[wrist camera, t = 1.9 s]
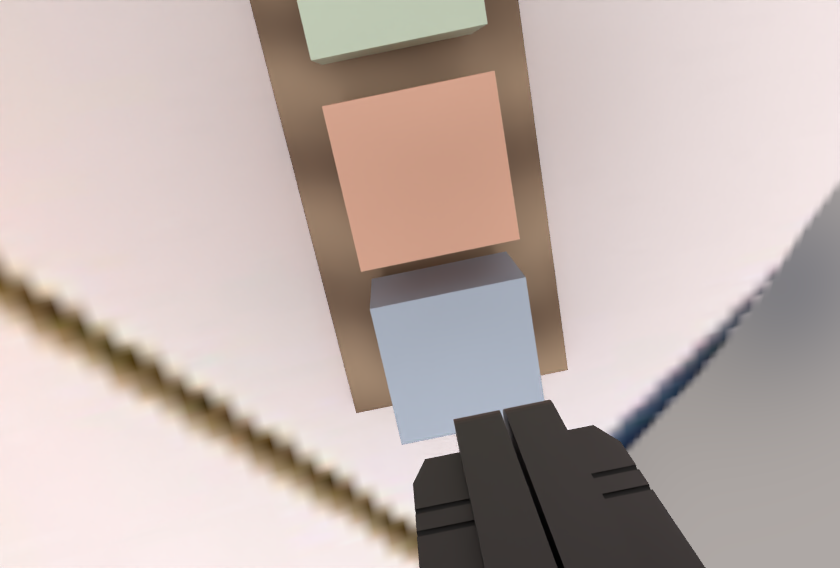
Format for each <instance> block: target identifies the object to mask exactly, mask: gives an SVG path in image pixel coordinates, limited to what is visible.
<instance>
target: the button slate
mask: <svg viewBox="0 0 840 568" xmlns="http://www.w3.org/2000/svg"><path fill="white" fill-rule="evenodd" d="M370 312H371V316H372V320H373V325H374V329H375V333H376V337H377V341H378V346H379V350H380V354H381V358H382V363H383V367H384V371H385V375H386V379H387V384H388V388H389V392H390V396H391V401H392V405H393V409H394V413H395V417H396V422H397V426H398V430H399V434H400V439H401V443H402V445H403V444H408V443H413V442H418V441H423V440H428V439H433V438H437V437H442V436H447V435H452V434H456V431H455V426H454V421H453V419H457V418H462V417H467V416H472V415H477V414H482V413H487V412H492V411H497V410H500V412H501V414H502V417H503V409H506V408H511V407H516V406H521V405H525V404H530V403H535V402H540V401H544V396H543V389H542V382H541V376H540V369H539V362H538V356H537V349H536V342H535V336H534V329H533V322H532V316H531V309H530V302H529V296H528V289H527V282H526V277H525V276H524V274H523V273H522V272H521V270H520V269H519V268H518V266H517V265H516V264H515V262H514V261H513V260H512V258H511V257H510V256H509V255H508V253H507V252H506V251H505V252H501V253H496V254H491V255H486V256H481V257H476V258H471V259H466V260H462V261H457V262H452V263H447V264H442V265H437V266H432V267H427V268H423V269H418V270H413V271H408V272H403V273H398V274H393V275H389V276H384V277H379V278H374V279H372V282H371V299H370ZM503 420H504V419H503Z"/></svg>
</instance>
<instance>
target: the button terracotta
mask: <svg viewBox="0 0 840 568" xmlns="http://www.w3.org/2000/svg"><path fill="white" fill-rule="evenodd" d="M322 109H323V113H324V118H325V122H326V126H327V130H328V134H329V139H330V143H331V147H332V151H333V156H334V160H335V164H336V168H337V172H338V177H339V181H340V185H341V189H342V194H343V198H344V202H345V206H346V210H347V215H348V219H349V223H350V227H351V232H352V236H353V240H354V244H355V248H356V253H357V257H358V261H359V265H360V270H361V272H363V271H368V270H372V269H377V268H382V267H387V266H392V265H397V264H402V263H407V262H411V261H416V260H421V259H426V258H431V257H436V256H441V255H445V254H450V253H455V252H460V251H465V250H470V249H475V248H480V247H484V246H489V245H494V244H499V243H504V242H509V241H514V240H518V239H520V236H519V229H518V223H517V216H516V209H515V203H514V196H513V189H512V183H511V176H510V169H509V163H508V156H507V149H506V143H505V136H504V129H503V123H502V116H501V109H500V103H499V96H498V90H497V83H496V76H495V71H490V72H484V73H478V74H473V75H468V76H463V77H459V78H454V79H449V80H444V81H439V82H434V83H430V84H425V85H420V86H415V87H410V88H405V89H401V90H396V91H391V92H386V93H381V94H376V95H372V96H367V97H362V98H357V99H352V100H347V101H343V102H338V103H333V104H329V105H325V106H322Z"/></svg>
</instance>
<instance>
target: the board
mask: <svg viewBox="0 0 840 568" xmlns="http://www.w3.org/2000/svg"><path fill="white" fill-rule="evenodd" d="M250 3H251V7H252V11H253V15H254V19H255V22H256V26H257V30H258V34H259V38H260V42H261V46H262V50H263V53H264V57H265V61H266V65H267V69H268V73H269V77H270V81H271V84H272V88H273V92H274V96H275V100H276V104H277V108H278V111H279V115H280V119H281V123H282V127H283V131H284V135H285V139H286V142H287V146H288V150H289V154H290V158H291V162H292V166H293V170H294V173H295V177H296V181H297V185H298V189H299V193H300V197H301V201H302V204H303V208H304V212H305V216H306V220H307V224H308V228H309V231H310V235H311V239H312V243H313V247H314V251H315V255H316V259H317V262H318V266H319V270H320V274H321V278H322V282H323V286H324V290H325V293H326V297H327V301H328V305H329V309H330V313H331V317H332V320H333V324H334V328H335V332H336V336H337V340H338V344H339V348H340V351H341V355H342V359H343V363H344V367H345V371H346V375H347V379H348V382H349V386H350V390H351V394H352V398H353V402H354V406H355V410H356V413H359V412H364V411H369V410H374V409H379V408H383V407H388V406H393V405H392V401H391V396H390V392H389V388H388V384H387V379H386V375H385V371H384V367H383V363H382V358H381V354H380V350H379V346H378V341H377V337H376V333H375V329H374V325H373V320H372V316H371V312H370V299H371V282H372V279H374V278H379V277H384V276H389V275H393V274H398V273H403V272H408V271H413V270H418V269H423V268H427V267H432V266H437V265H442V264H447V263H452V262H457V261H462V260H466V259H471V258H476V257H481V256H486V255H491V254H496V253H501V252H505V251H506V252H507V253H508V255H509V256H510V257H511V258H512V260H513V261H514V262H515V264H516V265H517V266H518V268H519V269H520V270H521V272H522V273H523V274H524V276H525V277H526V282H527V289H528V296H529V302H530V309H531V316H532V322H533V329H534V336H535V342H536V349H537V356H538V362H539V369H540V375H545V374H550V373H555V372H560V371H565V370H568V368H567V360H566V353H565V345H564V338H563V331H562V323H561V316H560V308H559V301H558V294H557V286H556V279H555V271H554V264H553V256H552V249H551V242H550V234H549V227H548V219H547V212H546V204H545V197H544V190H543V182H542V175H541V167H540V160H539V152H538V145H537V138H536V130H535V123H534V115H533V108H532V101H531V93H530V86H529V78H528V71H527V63H526V56H525V49H524V41H523V34H522V26H521V19H520V11H519V4H518V0H484V3H485V10H486V16H487V23H488V24H487V25H485V26H483V27H482V28H480V29H479V30H477V31H475V32H474V33H472V34H469V35H464V36H459V37H454V38H449V39H445V40H440V41H435V42H430V43H425V44H420V45H416V46H411V47H406V48H401V49H396V50H391V51H387V52H382V53H377V54H372V55H367V56H363V57H358V58H353V59H348V60H343V61H338V62H334V63H329V64H324V65H321V64H319V63H316V62H314V61H311V58H310V54H309V50H308V46H307V41H306V37H305V33H304V29H303V25H302V20H301V16H300V12H299V8H298V3H297V0H250ZM490 71H495V76H496V83H497V90H498V96H499V103H500V109H501V116H502V123H503V129H504V136H505V143H506V149H507V156H508V163H509V169H510V176H511V183H512V189H513V196H514V203H515V209H516V216H517V223H518V229H519V236H520V239H518V240H514V241H509V242H504V243H499V244H494V245H489V246H484V247H480V248H475V249H470V250H465V251H460V252H455V253H450V254H445V255H441V256H436V257H431V258H426V259H421V260H416V261H411V262H407V263H402V264H397V265H392V266H387V267H382V268H377V269H372V270H368V271H363V272H361V270H360V265H359V261H358V257H357V253H356V248H355V244H354V240H353V236H352V232H351V227H350V223H349V219H348V215H347V210H346V206H345V202H344V198H343V194H342V189H341V185H340V181H339V177H338V172H337V168H336V164H335V160H334V156H333V151H332V147H331V143H330V139H329V134H328V130H327V126H326V122H325V118H324V113H323V109H322V106H325V105H329V104H333V103H338V102H343V101H347V100H352V99H357V98H362V97H367V96H372V95H376V94H381V93H386V92H391V91H396V90H401V89H405V88H410V87H415V86H420V85H425V84H430V83H434V82H439V81H444V80H449V79H454V78H459V77H463V76H468V75H473V74H478V73H484V72H490Z"/></svg>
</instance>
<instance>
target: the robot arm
mask: <svg viewBox="0 0 840 568" xmlns="http://www.w3.org/2000/svg"><path fill="white" fill-rule="evenodd" d="M503 419H504V420H503ZM453 421H454V426H455V431H456V436H457V441H458V446H459V451H460V452H459V453H454V454H449V455H444V456H439V457H434V458H429V459H425V461H424V463H423V465H422V467H421V469H420V471H419V473H418V475H417V477H416V479H415V481H414V483H413V489H414V502H415V511H416V528H417V535H418V537H417V541H418V554H419V567H420V568H705V567H704V565H703V564H702V562H701V561H700V559H699V558H698V556H697V555H696V553H695V552H694V550H693V549H692V547H691V546H690V544H689V543H688V542H687V540H686V538H685V537H684V536H683V534H682V533H681V531H680V530H679V528H678V527H677V525H676V524H675V522H674V521H673V519H672V518H671V516H670V515H669V513H668V512H667V510H666V509H665V507H664V506H663V504H662V503H661V501H660V500H659V499H658V497H657V495H656V494H655V492H654V491H653V490H651V489H650V487H649V484H648V482H647V481H646V479H645V478H644V476H643V475H642V473H641V472H640V470H637V468H636V465H635V463H634V461H633V460H632V458H631V457H630V455H629V454H628V452H627V451H626V449H625V448H624V446H623V445H622V444H621V442H620V441H618V440H617V439H615V438H614V437H612V436H610V435H609V434H607V433H605V432H604V431H602V430H600V429H599V428H597V427H596V426H594V425H592V426H587V427H582V428H577V429H572V430H567V428H566V427H565V425H564V423H563V421H562V419H561V417H560V416H559V414H558V412H557V410H556V408H555V406H554V404H553V403H552V401H551V400H545V401H540V402H535V403H530V404H525V405H521V406H516V407H511V408H506V409H503V417H502V414H501V412H500V410H497V411H492V412H487V413H482V414H477V415H472V416H467V417H462V418H457V419H453Z"/></svg>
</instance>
